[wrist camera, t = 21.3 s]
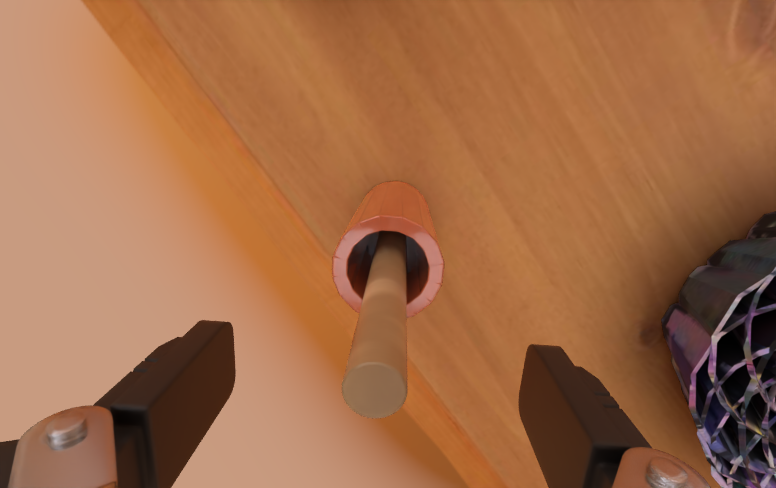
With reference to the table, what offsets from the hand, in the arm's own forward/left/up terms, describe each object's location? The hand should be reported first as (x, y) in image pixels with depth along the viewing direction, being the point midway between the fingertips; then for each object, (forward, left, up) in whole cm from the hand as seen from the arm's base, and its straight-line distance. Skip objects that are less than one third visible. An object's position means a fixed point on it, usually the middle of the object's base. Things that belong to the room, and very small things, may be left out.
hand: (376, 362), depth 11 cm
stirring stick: (0, 0, -19) cm, 19 cm away
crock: (0, 0, -19) cm, 19 cm away
